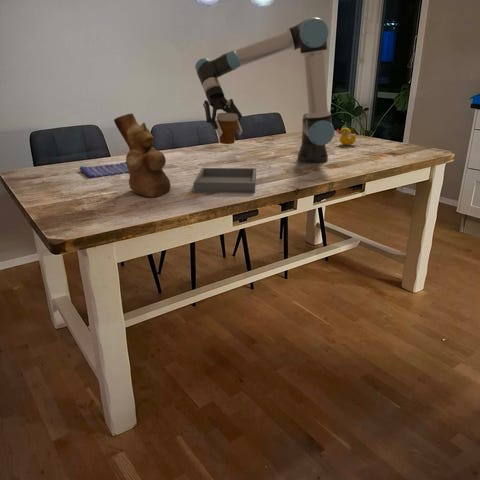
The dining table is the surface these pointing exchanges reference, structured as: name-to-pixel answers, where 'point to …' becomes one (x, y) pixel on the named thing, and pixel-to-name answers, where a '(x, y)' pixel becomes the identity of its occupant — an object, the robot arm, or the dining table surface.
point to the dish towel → (105, 170)
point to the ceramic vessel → (143, 158)
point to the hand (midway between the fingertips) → (230, 133)
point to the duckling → (344, 138)
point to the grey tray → (226, 180)
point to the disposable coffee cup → (227, 127)
